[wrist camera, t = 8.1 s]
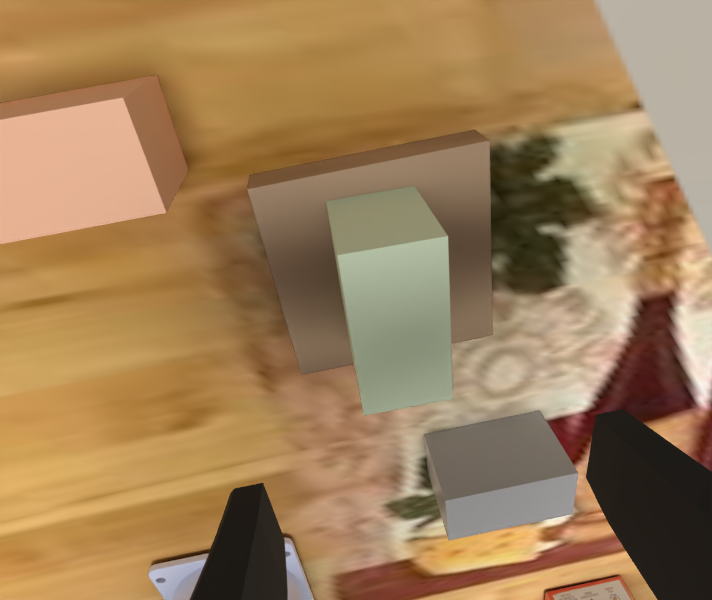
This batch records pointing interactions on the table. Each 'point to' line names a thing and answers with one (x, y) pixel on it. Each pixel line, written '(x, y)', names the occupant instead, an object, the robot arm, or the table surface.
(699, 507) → the robot arm
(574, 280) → the table surface
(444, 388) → the sage brick
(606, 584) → the cracker box
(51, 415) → the table surface
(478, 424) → the grey brick
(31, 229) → the terracotta brick
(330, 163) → the walnut slab
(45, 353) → the table surface
